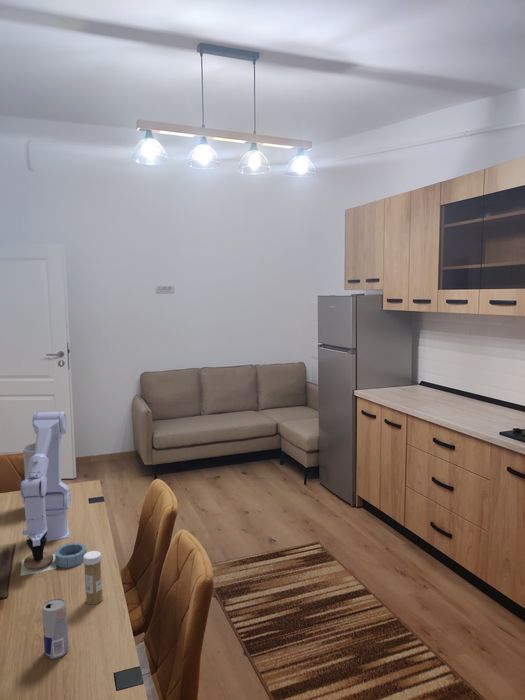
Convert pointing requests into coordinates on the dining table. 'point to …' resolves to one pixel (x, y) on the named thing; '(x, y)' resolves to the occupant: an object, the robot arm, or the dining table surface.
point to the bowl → (70, 555)
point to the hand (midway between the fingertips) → (38, 557)
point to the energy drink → (55, 628)
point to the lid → (33, 564)
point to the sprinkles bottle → (93, 577)
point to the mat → (31, 571)
